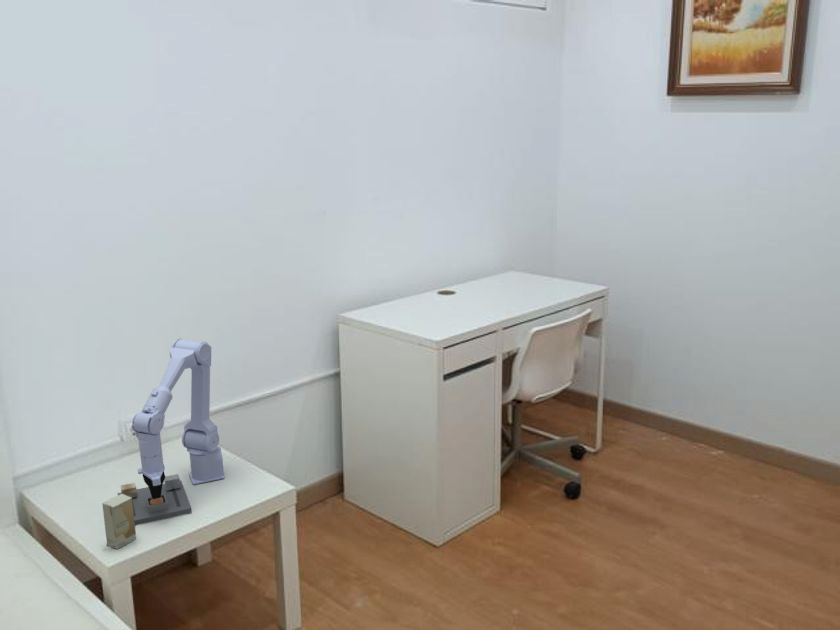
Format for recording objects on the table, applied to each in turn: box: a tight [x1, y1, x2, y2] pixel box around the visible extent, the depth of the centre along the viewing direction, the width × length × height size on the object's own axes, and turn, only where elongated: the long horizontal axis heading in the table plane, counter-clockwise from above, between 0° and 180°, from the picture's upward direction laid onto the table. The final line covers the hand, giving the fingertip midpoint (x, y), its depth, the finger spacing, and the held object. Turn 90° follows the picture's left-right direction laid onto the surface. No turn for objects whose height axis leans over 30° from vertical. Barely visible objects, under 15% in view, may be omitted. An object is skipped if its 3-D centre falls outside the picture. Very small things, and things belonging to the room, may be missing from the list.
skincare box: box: [102, 494, 137, 550], centre depth 204 cm, size 6×4×12 cm
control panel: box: [117, 480, 193, 526], centre depth 223 cm, size 18×18×4 cm
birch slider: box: [120, 482, 138, 498], centre depth 225 cm, size 4×3×3 cm
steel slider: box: [163, 473, 181, 490], centre depth 229 cm, size 4×3×3 cm
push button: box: [150, 498, 164, 505], centre depth 220 cm, size 4×4×2 cm
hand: (156, 497), depth 219 cm, fingers closed
